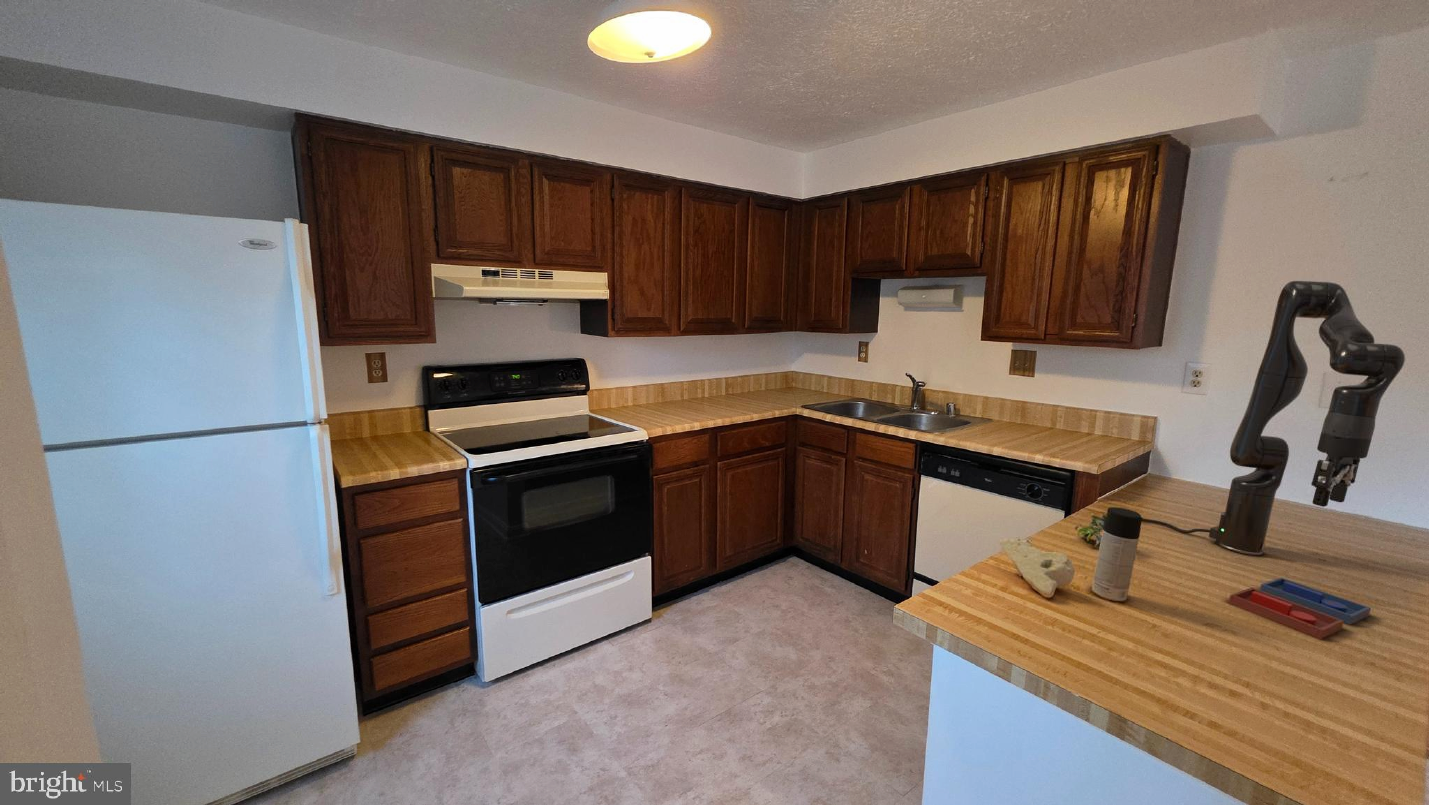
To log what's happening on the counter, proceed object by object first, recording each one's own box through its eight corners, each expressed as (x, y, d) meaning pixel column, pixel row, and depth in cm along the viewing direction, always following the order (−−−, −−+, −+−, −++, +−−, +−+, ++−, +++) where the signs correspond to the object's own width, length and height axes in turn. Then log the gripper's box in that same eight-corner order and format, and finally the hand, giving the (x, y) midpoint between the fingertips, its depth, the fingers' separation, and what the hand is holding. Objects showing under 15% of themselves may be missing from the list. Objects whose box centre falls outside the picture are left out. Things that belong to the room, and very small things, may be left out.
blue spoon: (1349, 611, 126) (1351, 601, 126) (1341, 614, 124) (1344, 604, 124) (1286, 589, 135) (1288, 580, 135) (1279, 592, 134) (1281, 583, 133)
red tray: (1228, 603, 128) (1230, 594, 127) (1249, 595, 132) (1251, 587, 132) (1321, 639, 114) (1323, 630, 114) (1341, 629, 119) (1343, 620, 119)
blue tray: (1259, 591, 134) (1261, 584, 134) (1278, 584, 139) (1280, 577, 139) (1350, 625, 121) (1352, 616, 121) (1368, 616, 125) (1371, 607, 125)
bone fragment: (1080, 612, 124) (1078, 552, 133) (1072, 595, 120) (1070, 534, 129) (1005, 607, 133) (1007, 551, 142) (996, 591, 130) (999, 535, 139)
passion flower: (1110, 564, 158) (1147, 541, 151) (1087, 562, 154) (1124, 538, 147) (1084, 530, 166) (1118, 506, 159) (1061, 527, 162) (1095, 503, 154)
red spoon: (1318, 623, 120) (1321, 613, 119) (1310, 627, 118) (1313, 616, 118) (1255, 599, 129) (1257, 590, 129) (1246, 602, 127) (1249, 593, 127)
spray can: (1123, 592, 130) (1138, 510, 127) (1130, 605, 124) (1147, 519, 121) (1089, 585, 133) (1103, 504, 129) (1094, 597, 127) (1110, 513, 123)
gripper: (1336, 428, 130) (1319, 494, 133) (1308, 431, 124) (1290, 501, 127) (1384, 436, 124) (1365, 505, 126) (1357, 439, 118) (1337, 513, 120)
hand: (1327, 503), depth 127 cm, fingers open, 8 cm apart
